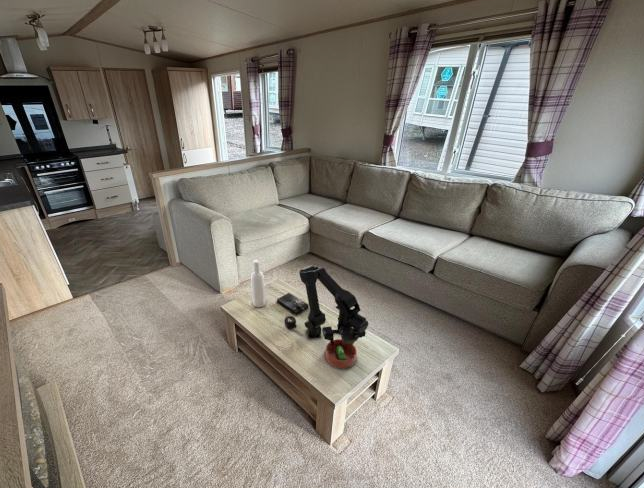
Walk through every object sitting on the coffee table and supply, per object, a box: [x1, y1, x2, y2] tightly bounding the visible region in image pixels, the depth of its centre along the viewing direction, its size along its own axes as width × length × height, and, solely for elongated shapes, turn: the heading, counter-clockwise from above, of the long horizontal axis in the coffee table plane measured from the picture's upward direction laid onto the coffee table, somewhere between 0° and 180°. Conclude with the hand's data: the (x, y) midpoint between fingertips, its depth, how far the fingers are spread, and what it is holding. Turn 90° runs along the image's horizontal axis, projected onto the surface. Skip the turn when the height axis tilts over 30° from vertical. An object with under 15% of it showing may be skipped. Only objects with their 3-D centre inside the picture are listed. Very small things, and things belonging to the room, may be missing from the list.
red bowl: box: [325, 338, 358, 369], centre depth 144 cm, size 14×14×5 cm
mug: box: [283, 313, 302, 335], centre depth 161 cm, size 12×6×7 cm, turn 42°
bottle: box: [250, 259, 267, 308], centre depth 176 cm, size 8×8×30 cm
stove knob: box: [296, 298, 303, 308], centre depth 175 cm, size 4×4×4 cm
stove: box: [276, 292, 309, 317], centre depth 180 cm, size 18×10×3 cm, turn 40°
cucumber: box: [336, 346, 346, 361], centre depth 144 cm, size 4×9×4 cm, turn 4°
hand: (342, 344), depth 141 cm, fingers open, 9 cm apart
